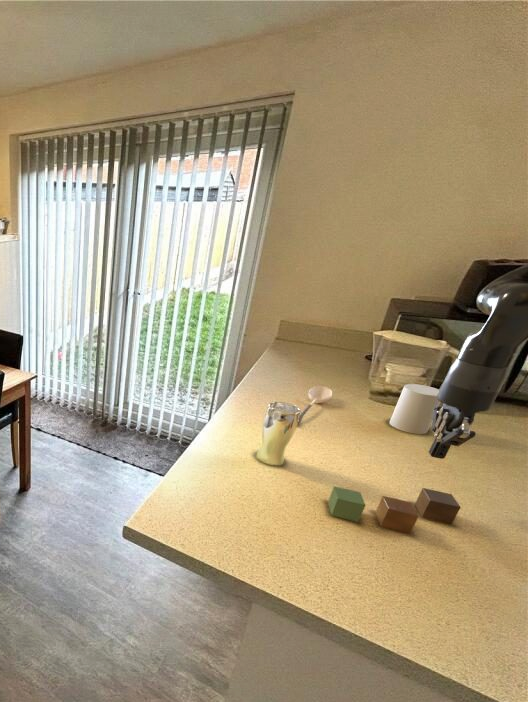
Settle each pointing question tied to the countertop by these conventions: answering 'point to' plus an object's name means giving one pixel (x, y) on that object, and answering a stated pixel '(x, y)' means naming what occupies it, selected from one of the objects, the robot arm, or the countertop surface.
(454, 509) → the walnut block
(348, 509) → the sage block
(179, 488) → the countertop surface
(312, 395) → the ladle
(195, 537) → the countertop surface
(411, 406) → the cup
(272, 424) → the beer glass
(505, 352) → the robot arm
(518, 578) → the countertop surface
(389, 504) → the oak block
